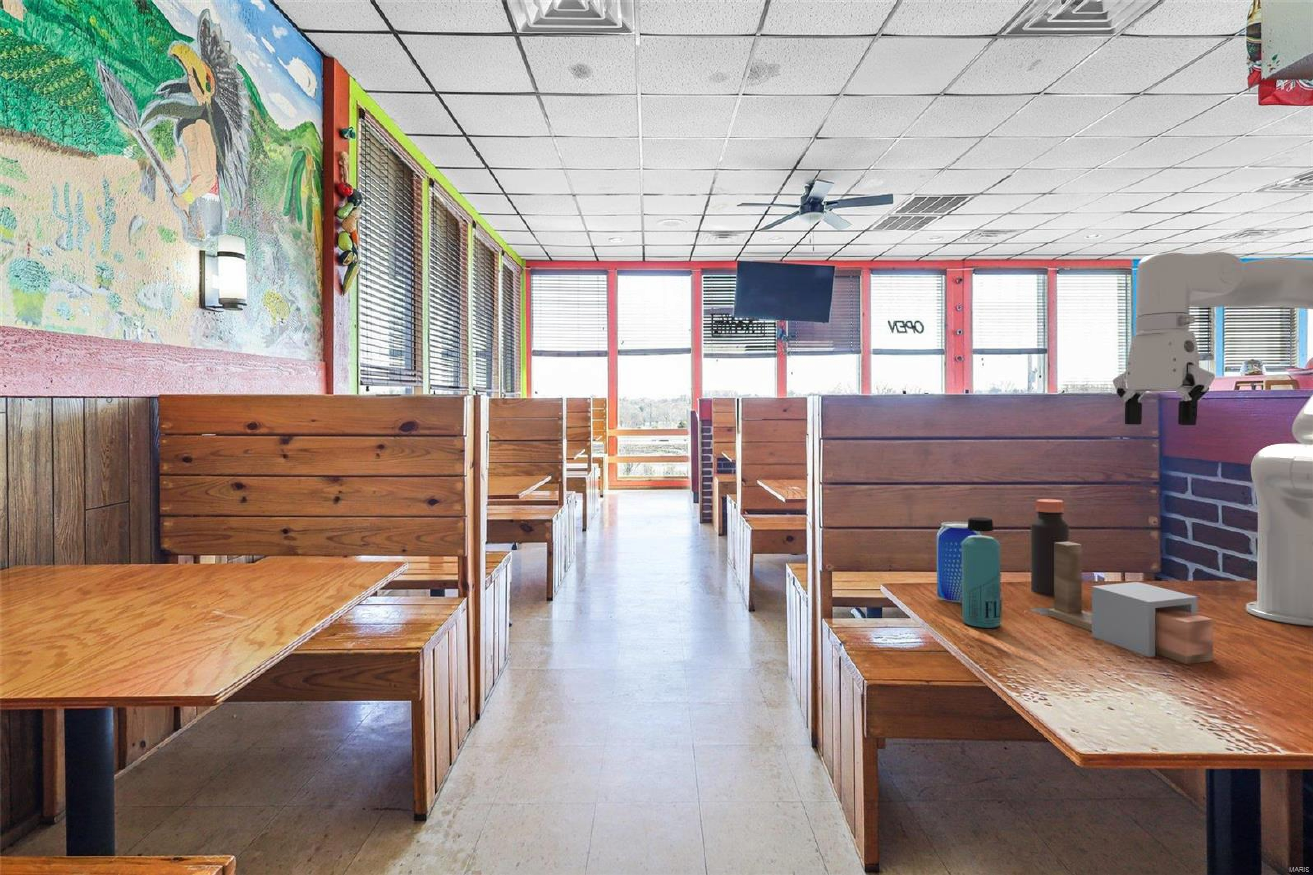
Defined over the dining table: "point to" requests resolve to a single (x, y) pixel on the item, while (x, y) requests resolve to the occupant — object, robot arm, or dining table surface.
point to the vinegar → (1046, 543)
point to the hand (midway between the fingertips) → (1159, 424)
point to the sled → (1173, 628)
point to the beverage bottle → (981, 576)
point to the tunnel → (1133, 613)
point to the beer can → (951, 559)
